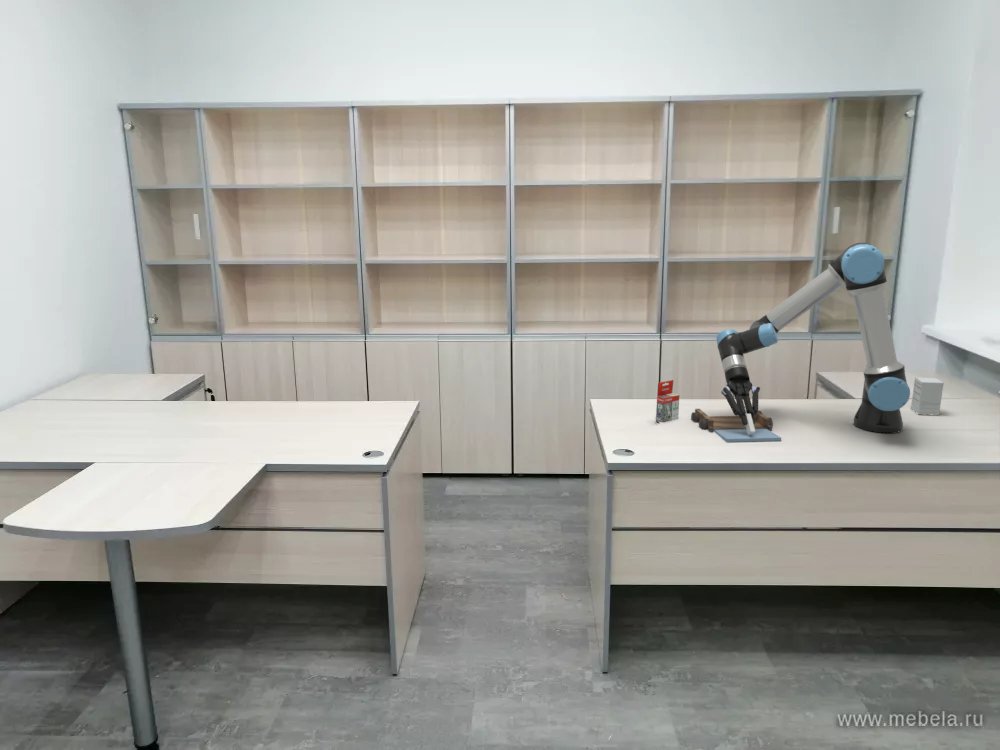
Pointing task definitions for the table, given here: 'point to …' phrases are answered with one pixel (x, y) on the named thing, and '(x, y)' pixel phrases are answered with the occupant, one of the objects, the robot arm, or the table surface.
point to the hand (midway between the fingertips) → (751, 433)
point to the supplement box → (927, 396)
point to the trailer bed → (728, 421)
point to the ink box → (667, 403)
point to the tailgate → (746, 435)
